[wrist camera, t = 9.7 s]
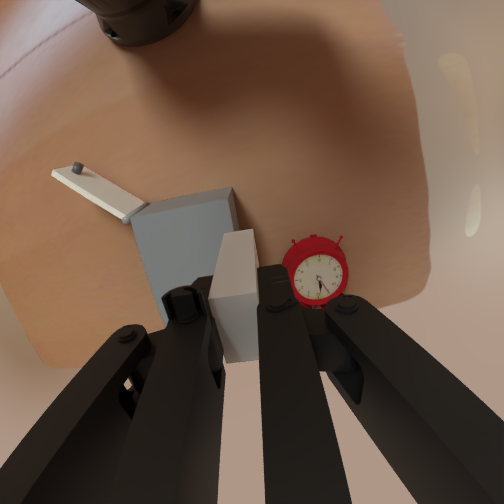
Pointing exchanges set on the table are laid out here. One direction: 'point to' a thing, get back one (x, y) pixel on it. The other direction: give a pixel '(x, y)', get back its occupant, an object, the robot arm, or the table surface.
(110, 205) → the door
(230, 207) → the case
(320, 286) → the alarm clock
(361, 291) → the table surface
